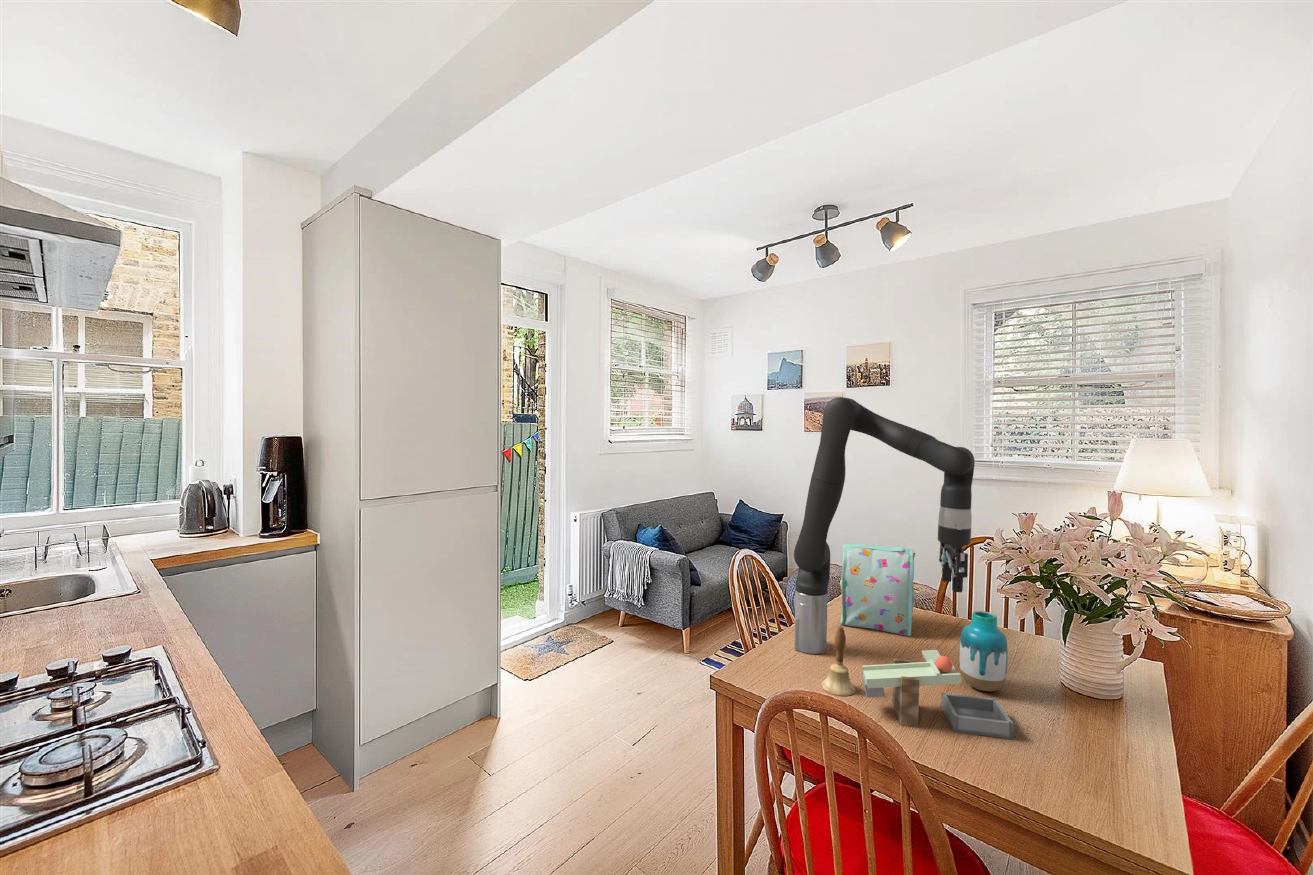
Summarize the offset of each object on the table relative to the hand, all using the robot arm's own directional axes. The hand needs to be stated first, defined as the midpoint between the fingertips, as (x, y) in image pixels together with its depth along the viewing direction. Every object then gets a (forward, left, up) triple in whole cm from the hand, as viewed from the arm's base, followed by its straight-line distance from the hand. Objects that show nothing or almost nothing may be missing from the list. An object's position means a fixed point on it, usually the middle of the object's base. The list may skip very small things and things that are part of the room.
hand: (951, 586), depth 143 cm
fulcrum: (-14, -19, -26) cm, 35 cm away
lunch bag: (-12, +37, -26) cm, 47 cm away
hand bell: (-28, -10, -26) cm, 40 cm away
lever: (-13, -15, -19) cm, 27 cm away
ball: (-6, -19, -13) cm, 24 cm away
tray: (+1, -19, -26) cm, 32 cm away
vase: (+8, -1, -26) cm, 27 cm away
